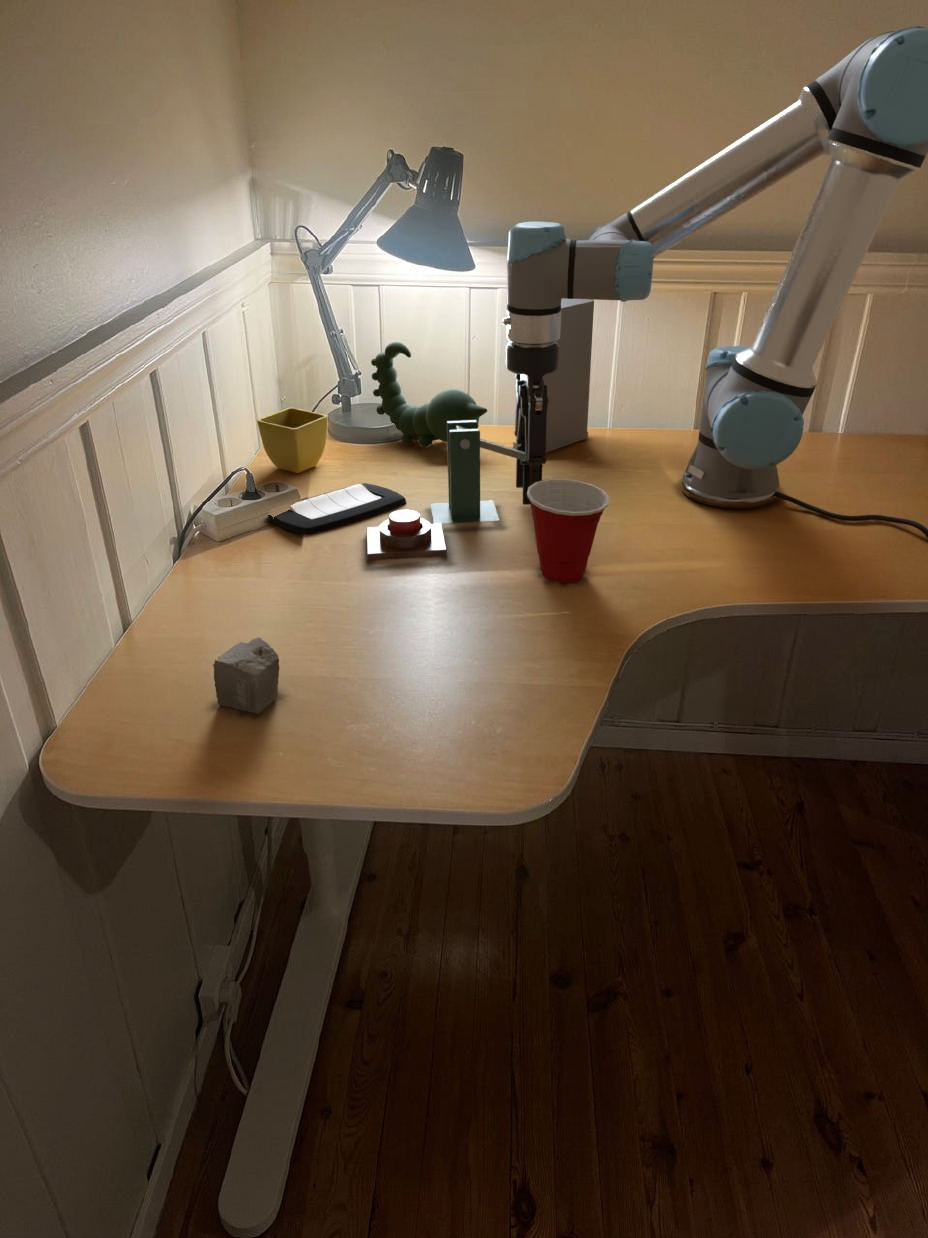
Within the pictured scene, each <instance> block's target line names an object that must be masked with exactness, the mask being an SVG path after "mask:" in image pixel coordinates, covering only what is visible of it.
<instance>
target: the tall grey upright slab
mask: <svg viewBox="0 0 928 1238" xmlns="http://www.w3.org/2000/svg"><path fill="white" fill-rule="evenodd" d="M594 311H595V300H594V299H563V298H562V300H561V329H560V339H559V340H558V341H556V342H557V343H558V345H559V366H558V369H557V370H556V371H555V372H553V373H550V374H549V373H548V374H545V375H544V376H543V380H544V385H547V397H548V399H549V402H548V406H547V426H546V453H549V452H552V451H554V450H557V449H560V448H563V447H565V446H569V445H571V444H574V443H577V442H580V441H585V439H589V431H588V423H589V406H590V386H591V385H590V384H591V370H592V369H591V366H592V350H593V349H592V347H593V331H594V330H593V329H594ZM515 438H517V437H516V436H515ZM512 443H513V444H512V448H513V449H516V450H517V446H520V445H517V442H516V440H515V441H513V442H512Z"/></svg>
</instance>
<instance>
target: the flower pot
mask: <svg viewBox="0 0 928 1238" xmlns="http://www.w3.org/2000/svg"><path fill="white" fill-rule="evenodd" d="M256 423H257V426H258V431H259V435H260V438H261V443H262V446H263V450H264V452H265V453H266V455H267V457H268V459H269V460H270V461H271V463H272V464H273V465H274V466H275V467H276V468H277V469H279V470H284V471H288V472H290V473H295V474H301V473H302V472H305V471H307V470H309V469H311V468H313V467H315V466H317V465H318V463H319V462H320V461H321V458H322V456H323V454H324V451H325V448H326V443H327V432H328V431H327V429H328V415H327V414H323V413H319V412H314V411H309V410H306V409H300V408H296V407H287V408H285V409H281V410H279V411H277V412H274V413H272V414H269V415H265V416H264V417H261V418H258V419H257V420H256Z"/></svg>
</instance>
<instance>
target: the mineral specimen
mask: <svg viewBox="0 0 928 1238" xmlns="http://www.w3.org/2000/svg"><path fill="white" fill-rule="evenodd" d="M212 666H213V680H214V688H215V692H216V699H217V704H218V706H221V707H228V708H231V709H234V710H239V711H242V712H243V711H244V712H249V713H253V714H256V715H259V714H260V713H261V712H263V711H264V710H265V709H266V708H267V707H268V706H270V705H271V704H272V703H273V702H275V701H276V699H277V698H278V695H279V694H278V693H279V691H278V690H279V687H278V686H279V677H280V657H279V655H278V653H277V652H276V651H275V649H274V648H273V647H271V646H270V644H269V643H268V642H267V641H265V640H264V639H263V638H261V637H256V638H253V639H252V640H250V641H248V642H244V641H239V642H238V643H236V644H235V645H233V646H232V647H230V648H229V649H227V651H225V652H224V653H222V654H221V655H219V656H218V657H217V659H215V660H214V662H213V664H212Z"/></svg>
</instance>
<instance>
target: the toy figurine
mask: <svg viewBox="0 0 928 1238" xmlns="http://www.w3.org/2000/svg"><path fill="white" fill-rule="evenodd" d="M400 354H403V355H404V356H406V357H407V358H408V359H409V358H411V357H412V353H411V351H410V349H409V347H408V346H407V345H406V344H404V343H402V342H400V341H393V342H390V343H388V344H387V345H386V346H385V349H384V351H383V352H379V353H378V354H377V355H376V356H375V358H372V359H371V362H370V363H371V364H370V365H372V366H373V367H375V368H376V371H375V372H373V373H372V374H371V379H372V380H373V381H375V382H376V381H377V383H379V385H378V388H375V389H374V390H373V391H372V394H373V396H374V397H380V398H381V405H378V406H376V413H377V414H378V415H381V416H382V415H386V416H388V417H389V421H390V423H391V422H392V423H394V424H395V425H396V428H397V429H398V431H400V433H401V434H402V437H401V441H402V443H403V444H404V445H411V444H413V442H414V441H417V443H418V445H419V446H420V447H423V448H428V447H430V446H431V445H432V444H433V441H438V440H440V441H442V442H444V443H447V421H464V420H476V421H477V429H479V425H480V424H479V423H480V417H482V416H483V415H485V414H486V413H487V412H488V409H487V408H486V407H484V406H480V405H477V402H476V400H475V399H474V398H473V397H472V396H471V395H470V394H469V393H467V392H465V390H461V389H457V388H449V389H445V390H441V391H440V392H438V393H437V394H435V395H434V396H433V398H431V400H430V401H429V402H427V403H423V404H422V405H420V406H418V405H411V404H409V403H408V402H407V400H406V398H405V395H403V394H402V386H401V383H400V382H399V381H398V380H397V379H398V372H397V369H396V368H395V367H394V358H396V357H398V356H399V355H400ZM392 423H391V424H392Z"/></svg>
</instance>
